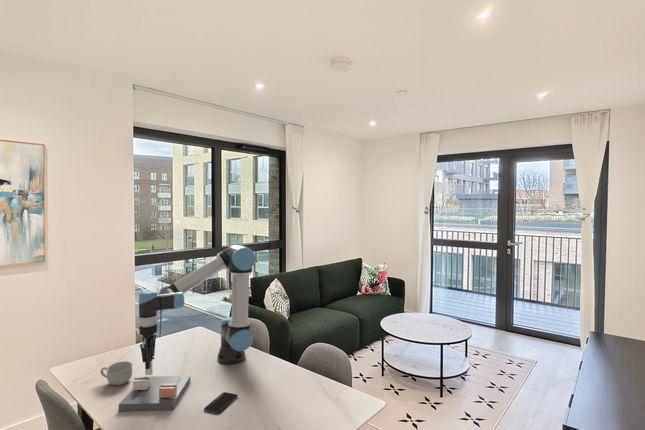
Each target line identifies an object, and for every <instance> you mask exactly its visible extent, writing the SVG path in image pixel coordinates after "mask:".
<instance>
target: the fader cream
mask: <svg viewBox="0 0 645 430" xmlns="http://www.w3.org/2000/svg"><path fill="white" fill-rule="evenodd" d="M149 386H150V377H148V376H135V377H134V378H133V380H132V389H133V390H147V389H148V388H149Z"/></svg>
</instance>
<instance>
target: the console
mask: <svg viewBox="0 0 645 430" xmlns="http://www.w3.org/2000/svg"><path fill="white" fill-rule="evenodd" d="M147 377H150V386H149V388H148V389H147V390H133V388H132V389H131V390H130V391H129V392H128V393H127V394H126V395H125V397H124V398H123V399H121V401H120V402H119V403H118V412H137V411H138V412H141V411H142V412H143V411H146V412H147V411H173V410H174V409H175V408H176V406H177V405H178V403H179V401H180V399H181V398H182V396H183V394H184V393H185V391H186V390H187V388H188V387H189V385H190V383H191V375H164V376H163V375H161V376H160V375H158V376H157V375H156V376H152V375H147ZM162 384H177V393H176V394H175V396H174V397H172V398H159V388H160V386H161V385H162Z"/></svg>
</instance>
